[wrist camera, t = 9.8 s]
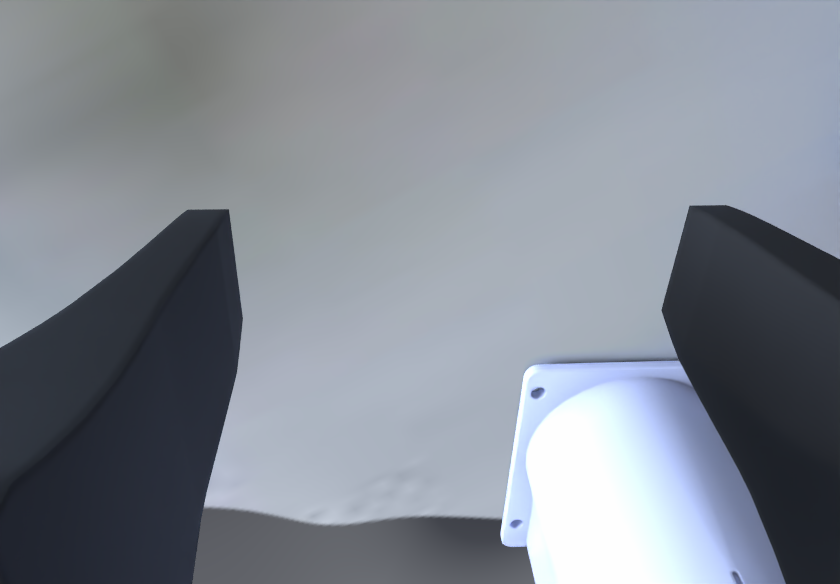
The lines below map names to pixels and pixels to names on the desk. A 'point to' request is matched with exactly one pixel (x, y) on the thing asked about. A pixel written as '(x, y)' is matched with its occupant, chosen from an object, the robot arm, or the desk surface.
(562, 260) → the desk surface
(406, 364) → the desk surface
